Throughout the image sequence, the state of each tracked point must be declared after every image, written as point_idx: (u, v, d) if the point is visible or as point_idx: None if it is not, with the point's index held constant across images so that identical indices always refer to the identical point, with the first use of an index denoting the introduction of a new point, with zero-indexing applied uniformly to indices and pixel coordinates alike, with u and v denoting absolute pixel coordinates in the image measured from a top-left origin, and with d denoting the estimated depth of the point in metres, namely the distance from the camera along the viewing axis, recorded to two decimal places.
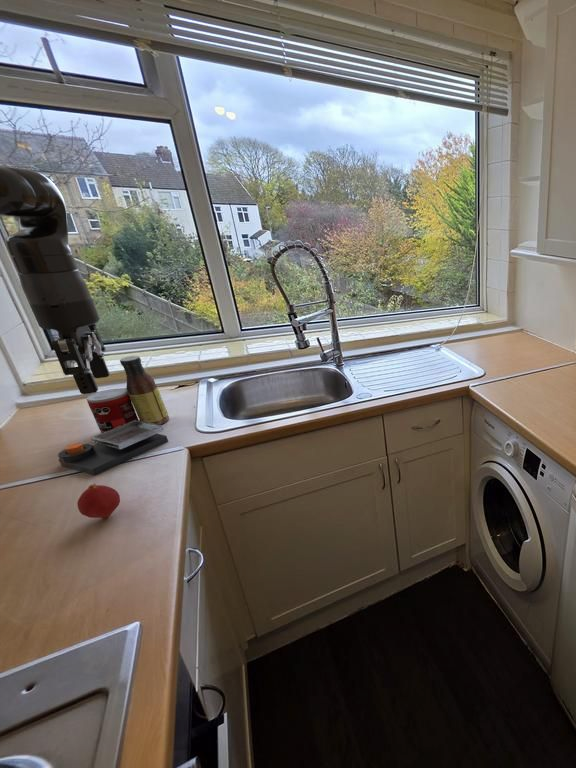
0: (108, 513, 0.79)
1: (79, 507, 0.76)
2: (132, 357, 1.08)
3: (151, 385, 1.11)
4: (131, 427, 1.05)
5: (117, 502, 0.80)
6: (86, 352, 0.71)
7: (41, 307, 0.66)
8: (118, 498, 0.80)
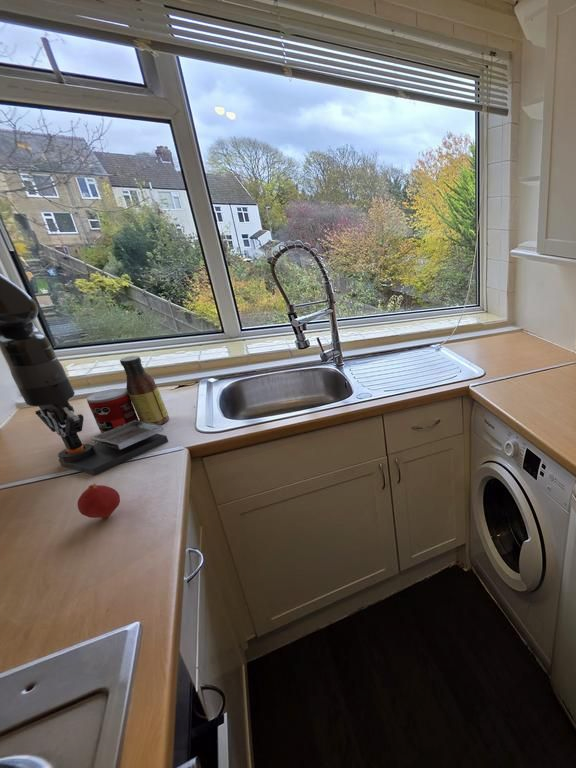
0: (108, 513, 0.79)
1: (79, 507, 0.76)
2: (132, 357, 1.08)
3: (151, 385, 1.11)
4: (131, 427, 1.05)
5: (117, 502, 0.80)
6: None
7: (43, 388, 0.87)
8: (118, 498, 0.80)
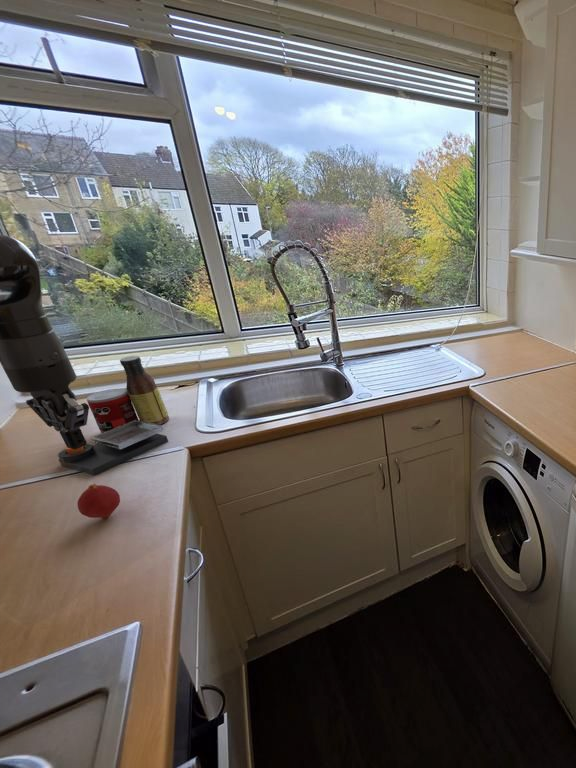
0: (108, 513, 0.79)
1: (79, 507, 0.76)
2: (132, 357, 1.08)
3: (151, 385, 1.11)
4: (131, 427, 1.05)
5: (117, 502, 0.80)
6: None
7: (37, 369, 0.67)
8: (118, 498, 0.80)
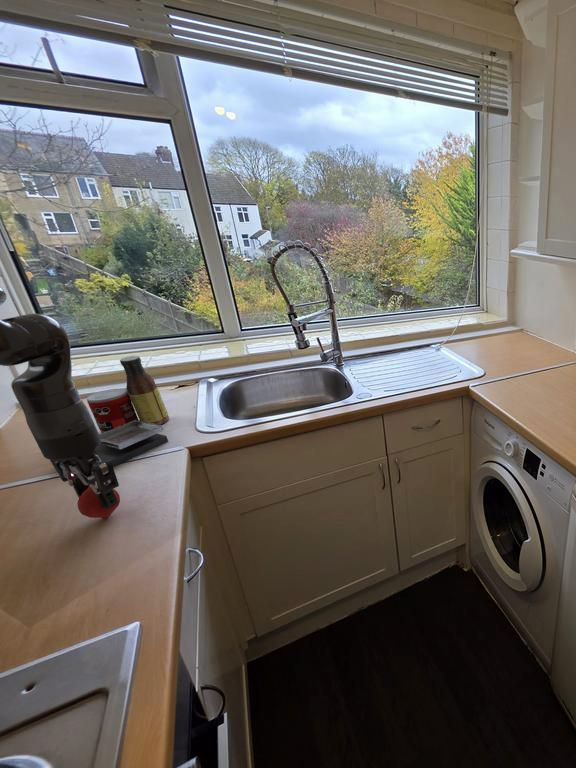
0: (108, 513, 0.79)
1: (79, 507, 0.76)
2: (132, 357, 1.08)
3: (151, 385, 1.11)
4: (131, 427, 1.05)
5: None
6: None
7: (66, 438, 0.71)
8: (118, 498, 0.80)
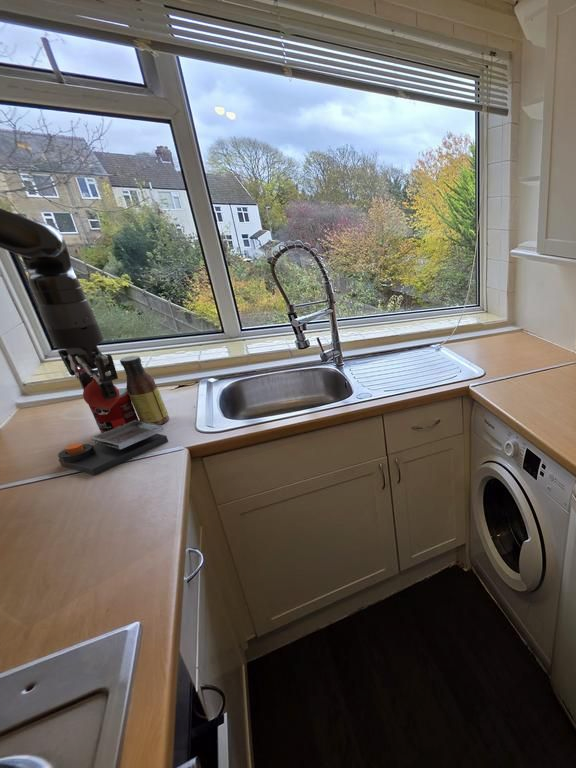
0: (109, 404, 0.91)
1: (84, 396, 0.89)
2: (132, 357, 1.08)
3: (151, 385, 1.11)
4: (131, 427, 1.05)
5: (117, 396, 0.92)
6: None
7: (73, 330, 0.83)
8: (118, 393, 0.93)
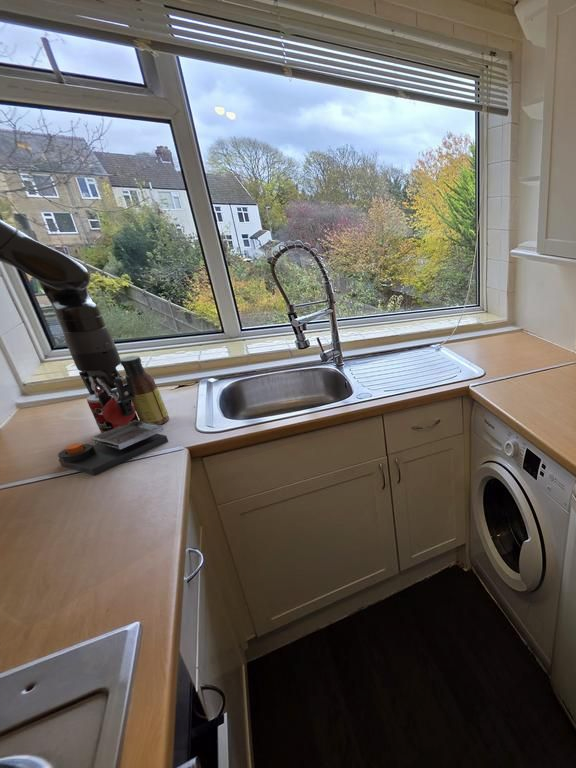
0: (126, 421, 0.99)
1: (104, 413, 0.97)
2: (132, 357, 1.08)
3: (151, 385, 1.11)
4: (131, 427, 1.05)
5: (133, 413, 1.00)
6: None
7: (95, 354, 0.91)
8: (134, 410, 1.01)
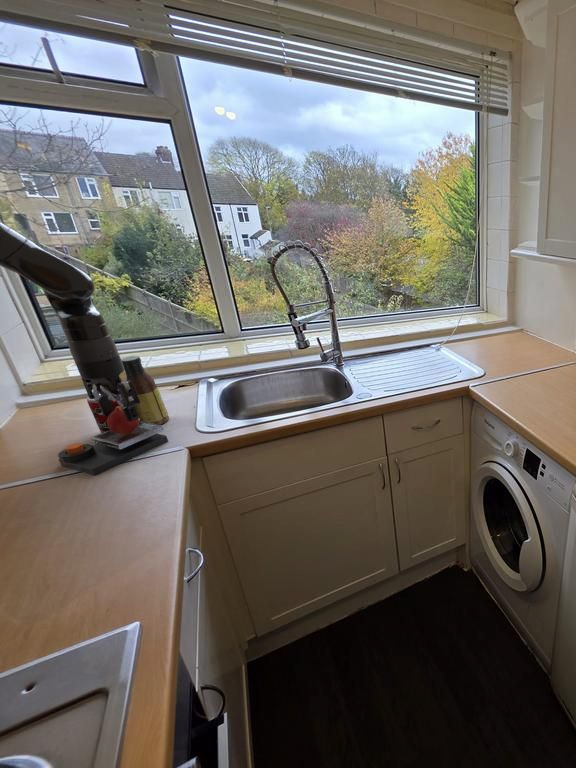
0: (130, 430, 1.01)
1: (108, 424, 0.98)
2: (132, 357, 1.08)
3: (151, 385, 1.11)
4: None
5: (137, 422, 1.01)
6: None
7: (99, 362, 0.92)
8: (138, 420, 1.02)
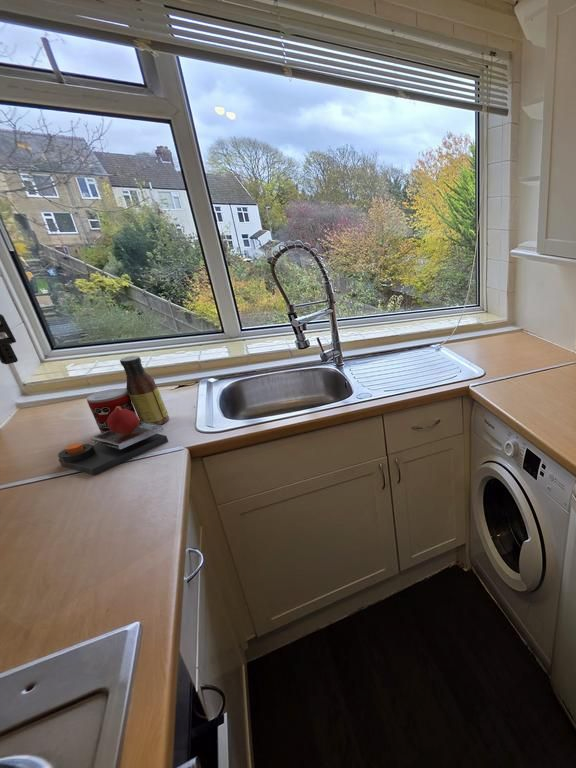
0: (130, 430, 1.01)
1: (108, 424, 0.98)
2: (132, 357, 1.08)
3: (151, 385, 1.11)
4: None
5: (137, 422, 1.01)
6: None
7: None
8: (138, 420, 1.02)
